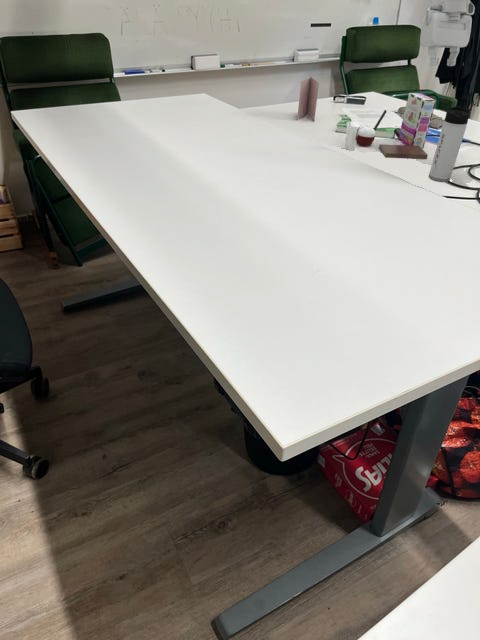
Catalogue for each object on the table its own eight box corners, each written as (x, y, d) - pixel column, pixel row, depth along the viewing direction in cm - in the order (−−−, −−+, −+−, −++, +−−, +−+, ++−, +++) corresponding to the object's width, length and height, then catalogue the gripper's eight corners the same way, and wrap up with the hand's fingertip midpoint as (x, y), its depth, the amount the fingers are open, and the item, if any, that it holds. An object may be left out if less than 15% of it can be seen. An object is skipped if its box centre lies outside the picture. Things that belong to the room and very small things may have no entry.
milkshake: (338, 149, 165) (343, 119, 159) (348, 146, 168) (353, 116, 162) (349, 153, 163) (355, 122, 157) (358, 150, 166) (364, 119, 160)
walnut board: (417, 150, 168) (419, 145, 167) (426, 159, 160) (427, 154, 159) (378, 148, 168) (379, 144, 167) (385, 157, 160) (386, 153, 159)
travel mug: (448, 176, 147) (470, 107, 135) (450, 183, 142) (472, 112, 130) (427, 173, 148) (446, 104, 136) (428, 181, 143) (448, 110, 131)
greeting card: (304, 115, 201) (308, 76, 192) (321, 118, 199) (326, 78, 190) (294, 122, 193) (298, 81, 184) (312, 125, 190) (317, 84, 181)
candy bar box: (424, 149, 169) (437, 100, 159) (411, 150, 168) (423, 100, 158) (409, 139, 178) (421, 92, 168) (397, 140, 177) (408, 92, 167)
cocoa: (350, 146, 169) (356, 110, 162) (353, 141, 174) (360, 106, 167) (377, 150, 167) (384, 113, 159) (380, 145, 171) (387, 109, 164)
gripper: (439, 1, 119) (433, 64, 124) (477, 7, 130) (470, 64, 136) (416, 6, 123) (411, 67, 129) (455, 11, 135) (449, 66, 141)
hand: (442, 65), depth 132 cm, fingers open, 8 cm apart
